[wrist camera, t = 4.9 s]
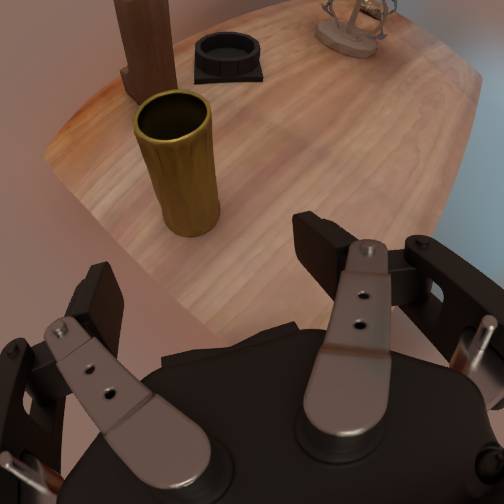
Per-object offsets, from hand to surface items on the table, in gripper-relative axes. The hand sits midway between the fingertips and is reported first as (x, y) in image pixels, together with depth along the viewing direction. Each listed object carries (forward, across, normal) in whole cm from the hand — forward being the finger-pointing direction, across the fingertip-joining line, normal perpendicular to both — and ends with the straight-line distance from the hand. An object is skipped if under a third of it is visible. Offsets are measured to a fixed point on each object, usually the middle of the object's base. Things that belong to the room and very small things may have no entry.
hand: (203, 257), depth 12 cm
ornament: (+56, -56, -33) cm, 86 cm away
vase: (+19, 0, +4) cm, 19 cm away
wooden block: (+33, +2, -10) cm, 35 cm away
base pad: (+36, -10, -14) cm, 40 cm away
